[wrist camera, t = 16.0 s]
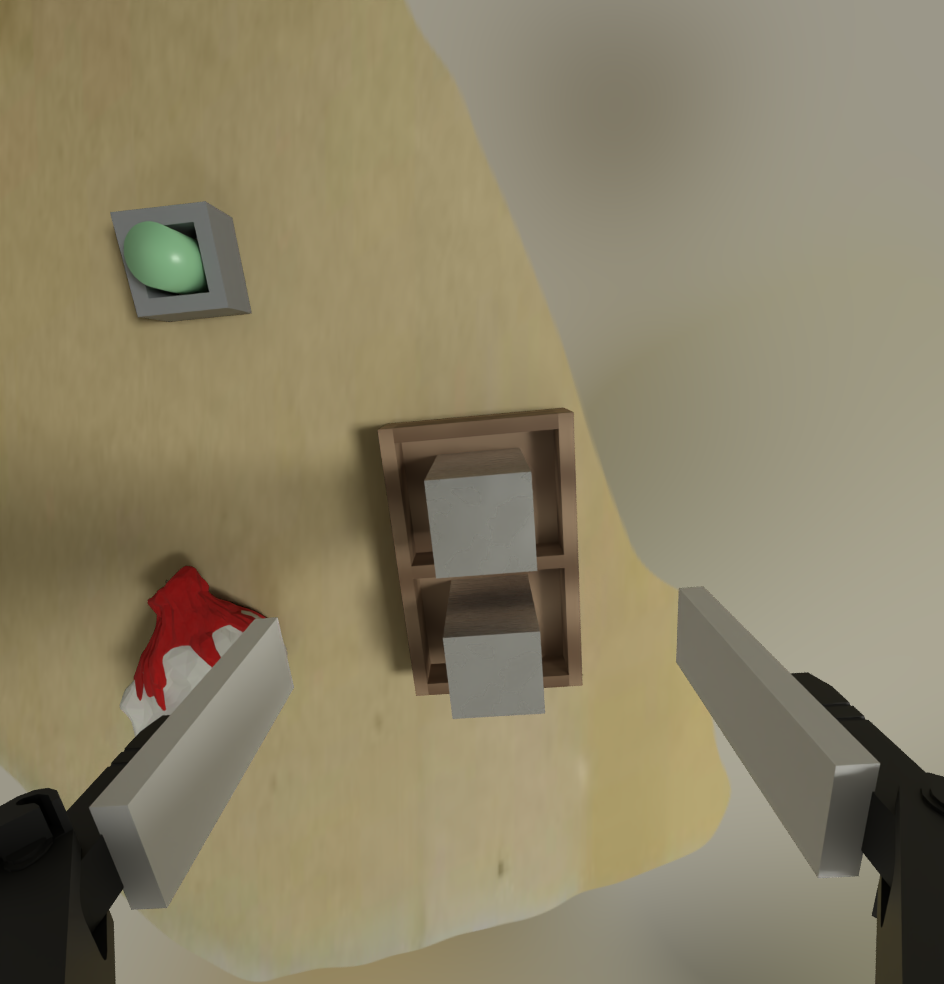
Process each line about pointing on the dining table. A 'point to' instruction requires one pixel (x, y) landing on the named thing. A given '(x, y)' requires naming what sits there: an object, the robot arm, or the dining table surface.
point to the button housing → (216, 256)
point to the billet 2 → (493, 648)
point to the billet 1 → (481, 513)
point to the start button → (165, 259)
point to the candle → (181, 646)
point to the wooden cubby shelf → (551, 585)
